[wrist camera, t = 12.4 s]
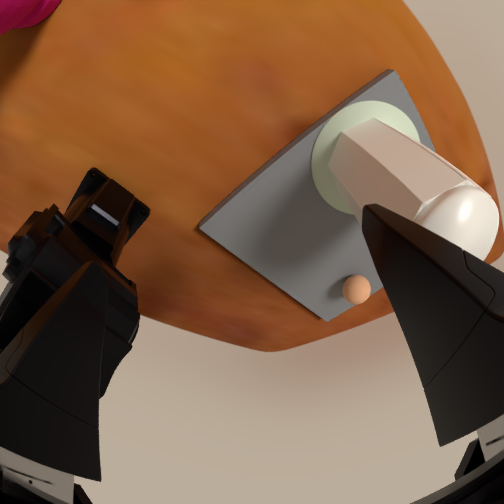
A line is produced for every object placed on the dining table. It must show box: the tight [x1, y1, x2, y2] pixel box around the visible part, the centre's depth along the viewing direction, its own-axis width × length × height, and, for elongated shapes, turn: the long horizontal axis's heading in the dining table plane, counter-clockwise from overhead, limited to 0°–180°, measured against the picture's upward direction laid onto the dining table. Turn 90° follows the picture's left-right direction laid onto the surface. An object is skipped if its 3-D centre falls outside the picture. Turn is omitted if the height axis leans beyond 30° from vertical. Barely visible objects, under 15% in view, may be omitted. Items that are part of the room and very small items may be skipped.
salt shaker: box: [328, 117, 499, 261], centre depth 15 cm, size 7×7×11 cm
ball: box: [342, 275, 371, 304], centre depth 27 cm, size 3×3×3 cm
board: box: [199, 69, 436, 322], centre depth 24 cm, size 20×20×1 cm
